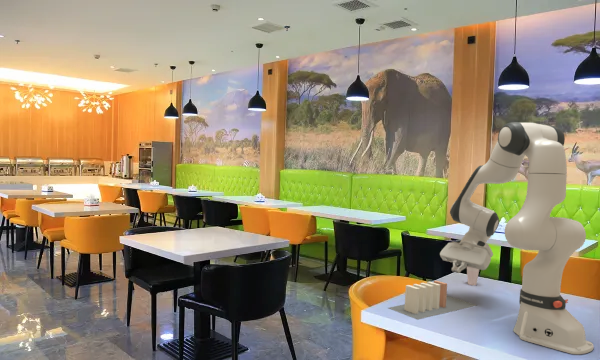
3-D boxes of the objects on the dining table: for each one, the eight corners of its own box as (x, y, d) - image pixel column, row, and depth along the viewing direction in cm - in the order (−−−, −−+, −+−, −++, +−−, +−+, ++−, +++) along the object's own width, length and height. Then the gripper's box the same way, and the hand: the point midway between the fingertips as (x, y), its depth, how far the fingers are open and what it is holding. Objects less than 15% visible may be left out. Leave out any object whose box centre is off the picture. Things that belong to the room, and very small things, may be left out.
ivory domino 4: (428, 304, 172) (429, 281, 172) (439, 308, 168) (440, 284, 168) (425, 305, 171) (426, 281, 171) (436, 309, 167) (437, 285, 167)
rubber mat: (477, 306, 175) (477, 305, 175) (417, 321, 154) (417, 319, 154) (447, 297, 186) (447, 295, 186) (387, 309, 165) (387, 307, 165)
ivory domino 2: (414, 307, 167) (415, 283, 167) (425, 311, 163) (426, 287, 163) (411, 308, 166) (413, 284, 166) (422, 312, 162) (424, 287, 162)
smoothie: (481, 286, 207) (483, 256, 207) (467, 285, 207) (469, 255, 207) (476, 283, 214) (478, 254, 213) (462, 282, 214) (464, 253, 213)
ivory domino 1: (407, 309, 165) (408, 284, 165) (418, 313, 161) (419, 288, 161) (404, 309, 164) (405, 285, 164) (415, 313, 160) (416, 288, 160)
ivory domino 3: (421, 306, 170) (422, 282, 169) (432, 309, 166) (433, 285, 165) (418, 306, 169) (420, 283, 168) (429, 310, 165) (431, 286, 164)
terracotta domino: (434, 303, 174) (436, 280, 174) (445, 307, 170) (447, 283, 170) (432, 303, 173) (433, 280, 173) (443, 307, 169) (444, 284, 169)
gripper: (446, 236, 190) (430, 260, 184) (491, 245, 173) (475, 272, 168) (452, 245, 192) (436, 270, 187) (497, 255, 176) (481, 282, 170)
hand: (455, 271), depth 177 cm, fingers closed
